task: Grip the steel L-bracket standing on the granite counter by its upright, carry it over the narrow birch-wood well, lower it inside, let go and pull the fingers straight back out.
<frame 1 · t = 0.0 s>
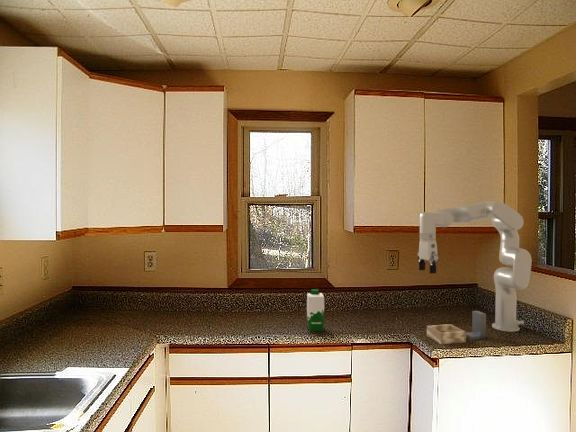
hand: (427, 271, 197), 31 cm above the countertop, fingers open, 9 cm apart
steel L-bracket: (474, 337, 193), on the countertop
milk carton: (315, 329, 206), on the countertop
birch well: (445, 339, 191), on the countertop
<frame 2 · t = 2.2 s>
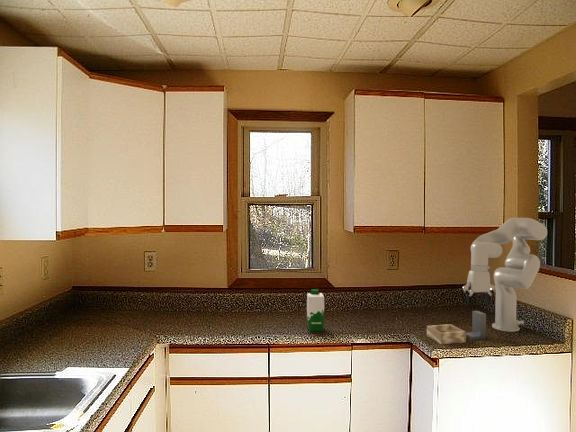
hand: (478, 303, 193), 16 cm above the countertop, fingers open, 9 cm apart
nothing on the countertop moved.
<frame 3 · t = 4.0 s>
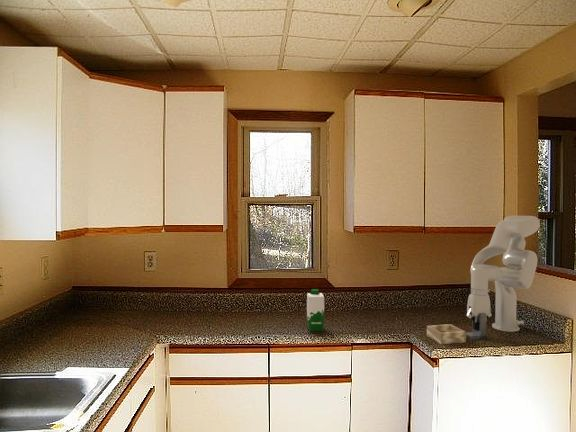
hand: (478, 329, 194), 4 cm above the countertop, fingers closed on steel L-bracket, 3 cm apart
steel L-bracket: (474, 337, 193), on the countertop, touching gripper
everything else where it was.
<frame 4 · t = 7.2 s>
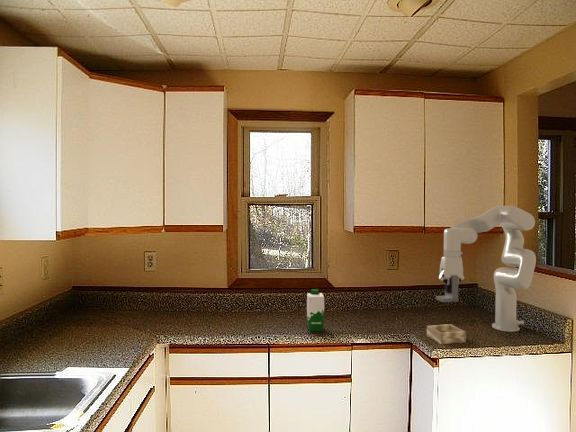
hand: (451, 292, 191), 22 cm above the countertop, fingers closed on steel L-bracket, 3 cm apart
steel L-bracket: (446, 300, 190), point 19 cm above the countertop, touching gripper
everything else where it was.
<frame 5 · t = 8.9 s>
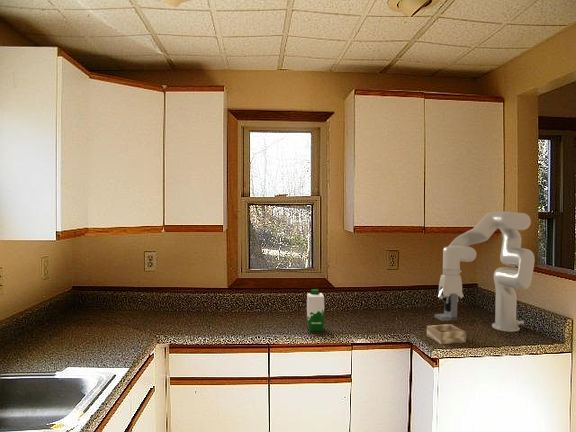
hand: (450, 310, 191), 14 cm above the countertop, fingers closed on steel L-bracket, 3 cm apart
steel L-bracket: (445, 318, 190), point 10 cm above the countertop, touching gripper
everything else where it was.
when the fingers open (6 cm above the countertop, at t = 10.5 s): steel L-bracket drops 2 cm, resting on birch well.
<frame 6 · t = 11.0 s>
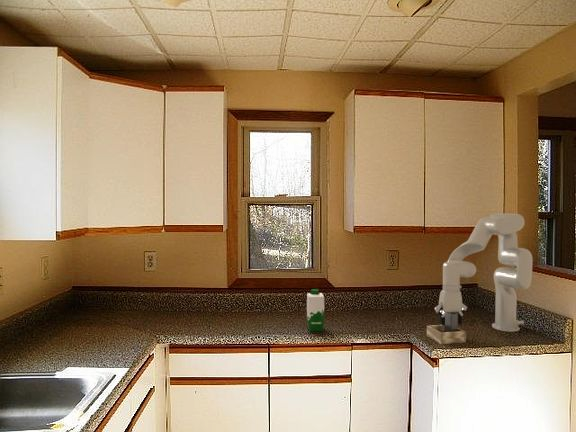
hand: (450, 324, 191), 7 cm above the countertop, fingers open, 8 cm apart
steel L-bracket: (446, 337, 191), point 1 cm above the countertop, touching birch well
everything else where it was.
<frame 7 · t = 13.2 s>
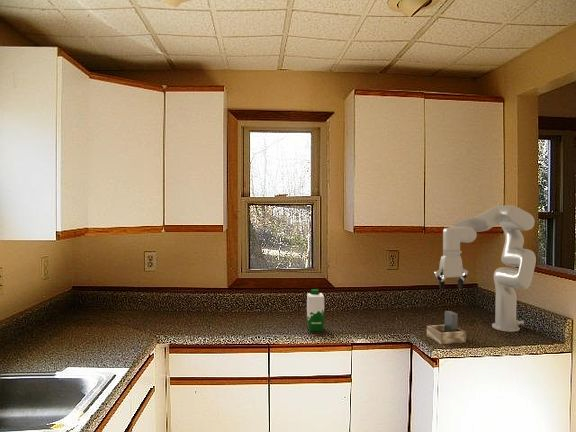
hand: (451, 289, 191), 24 cm above the countertop, fingers open, 9 cm apart
nothing on the countertop moved.
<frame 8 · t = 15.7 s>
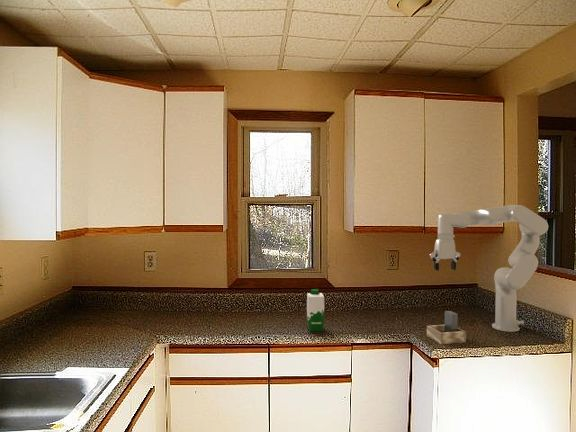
hand: (445, 269, 208), 30 cm above the countertop, fingers open, 9 cm apart
nothing on the countertop moved.
at the end: steel L-bracket 0.1 cm off-centre on the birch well, point 0.6 cm above the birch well's base; steel L-bracket tilted 0°; the gripper is holding nothing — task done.
